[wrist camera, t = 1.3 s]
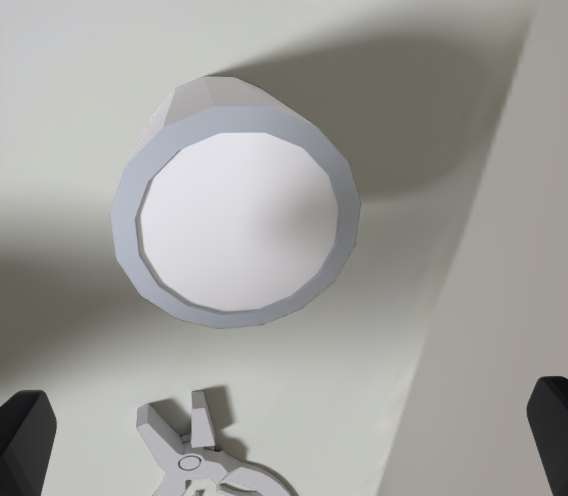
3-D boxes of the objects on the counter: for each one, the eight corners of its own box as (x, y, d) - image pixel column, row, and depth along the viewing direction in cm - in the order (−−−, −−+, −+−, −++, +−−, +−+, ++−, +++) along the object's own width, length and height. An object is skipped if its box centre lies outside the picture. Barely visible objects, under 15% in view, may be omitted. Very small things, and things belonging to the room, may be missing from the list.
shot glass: (88, 126, 18) (47, 207, 12) (245, 17, 17) (284, 45, 11) (200, 255, 21) (211, 367, 15) (333, 169, 21) (399, 252, 15)
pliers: (159, 588, 32) (69, 443, 24) (160, 562, 33) (75, 417, 25) (306, 544, 32) (266, 390, 25) (301, 521, 34) (261, 368, 26)
